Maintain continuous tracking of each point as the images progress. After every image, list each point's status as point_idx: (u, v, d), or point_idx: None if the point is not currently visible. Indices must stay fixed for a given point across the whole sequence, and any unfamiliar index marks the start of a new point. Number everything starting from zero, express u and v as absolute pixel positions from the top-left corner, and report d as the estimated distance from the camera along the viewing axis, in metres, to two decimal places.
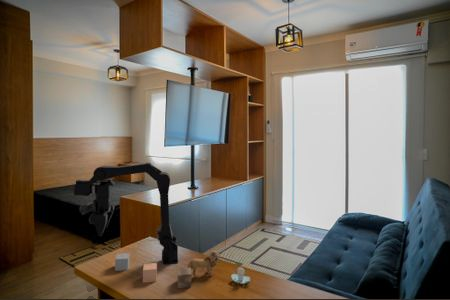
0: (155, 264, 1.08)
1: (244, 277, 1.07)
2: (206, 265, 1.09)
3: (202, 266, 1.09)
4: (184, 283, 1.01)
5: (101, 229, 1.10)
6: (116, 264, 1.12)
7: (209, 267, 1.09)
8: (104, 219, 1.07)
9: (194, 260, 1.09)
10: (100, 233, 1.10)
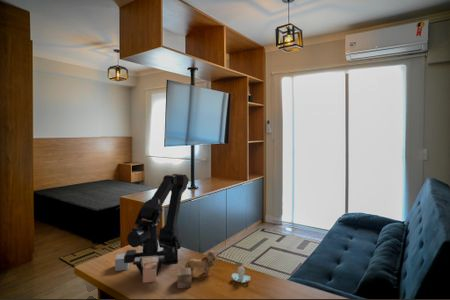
0: (155, 264, 1.08)
1: (244, 276, 1.08)
2: (203, 265, 1.09)
3: (199, 266, 1.09)
4: (184, 283, 1.01)
5: None
6: (116, 264, 1.12)
7: (206, 267, 1.09)
8: (124, 260, 1.02)
9: (191, 260, 1.09)
10: None
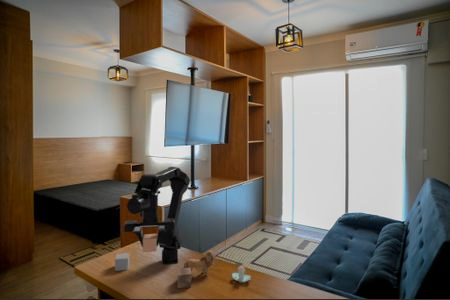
0: (155, 234, 1.07)
1: (245, 276, 1.08)
2: (202, 265, 1.09)
3: (198, 266, 1.09)
4: (184, 283, 1.01)
5: None
6: (116, 264, 1.12)
7: (205, 267, 1.09)
8: (124, 229, 1.01)
9: (190, 260, 1.09)
10: None
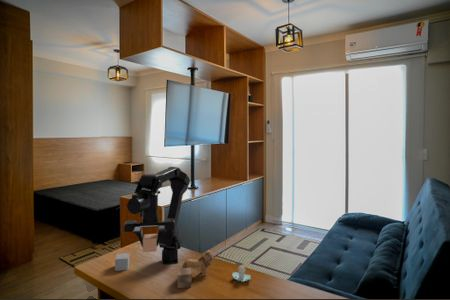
0: (155, 234, 1.07)
1: (245, 275, 1.08)
2: (200, 265, 1.09)
3: (196, 266, 1.09)
4: (184, 283, 1.01)
5: None
6: (116, 264, 1.12)
7: (203, 267, 1.09)
8: (124, 229, 1.01)
9: (188, 261, 1.08)
10: None
